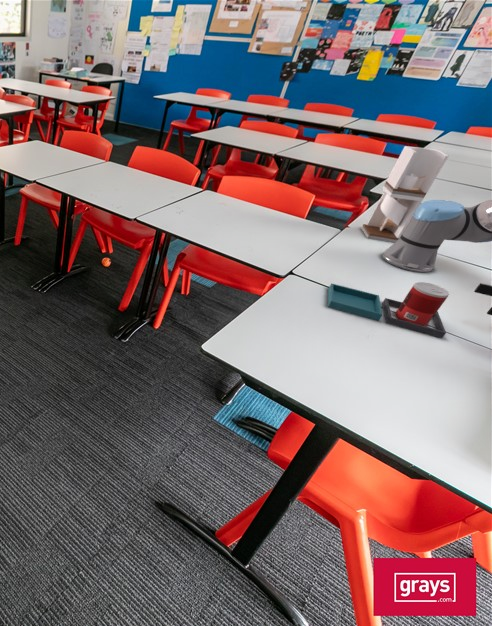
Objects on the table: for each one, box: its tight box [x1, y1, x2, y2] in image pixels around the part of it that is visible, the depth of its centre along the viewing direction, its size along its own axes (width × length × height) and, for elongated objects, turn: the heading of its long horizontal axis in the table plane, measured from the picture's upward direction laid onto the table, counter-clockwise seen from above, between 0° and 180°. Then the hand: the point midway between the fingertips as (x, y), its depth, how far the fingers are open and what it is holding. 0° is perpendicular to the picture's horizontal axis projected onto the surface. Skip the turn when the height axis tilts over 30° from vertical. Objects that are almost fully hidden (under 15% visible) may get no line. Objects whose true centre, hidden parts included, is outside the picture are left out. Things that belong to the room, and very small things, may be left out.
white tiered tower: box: [360, 145, 449, 243], centre depth 171 cm, size 11×11×35 cm
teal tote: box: [327, 283, 384, 322], centre depth 132 cm, size 13×13×2 cm
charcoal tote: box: [381, 297, 447, 339], centre depth 126 cm, size 13×13×2 cm
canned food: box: [394, 281, 450, 326], centre depth 124 cm, size 8×8×11 cm
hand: (483, 298), depth 115 cm, fingers open, 13 cm apart
